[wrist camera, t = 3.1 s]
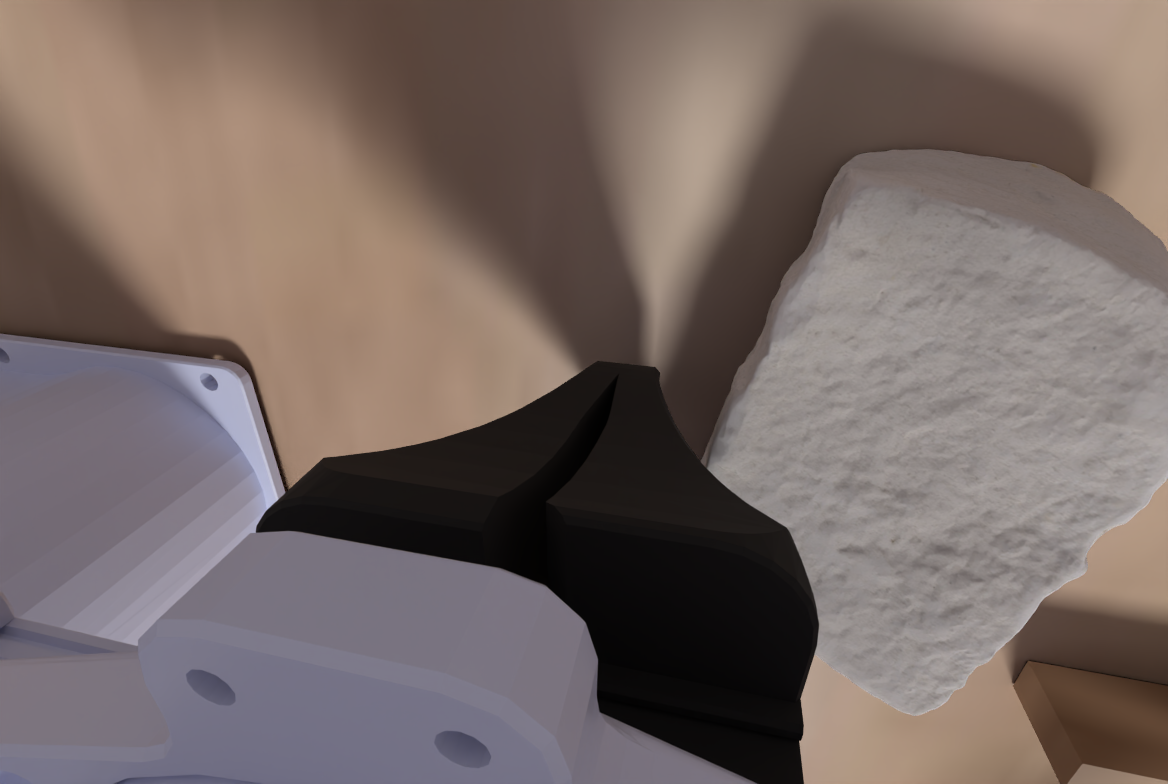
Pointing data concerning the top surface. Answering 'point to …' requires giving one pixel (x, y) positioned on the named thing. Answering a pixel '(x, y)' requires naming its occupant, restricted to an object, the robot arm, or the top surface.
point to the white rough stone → (951, 407)
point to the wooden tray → (1097, 724)
